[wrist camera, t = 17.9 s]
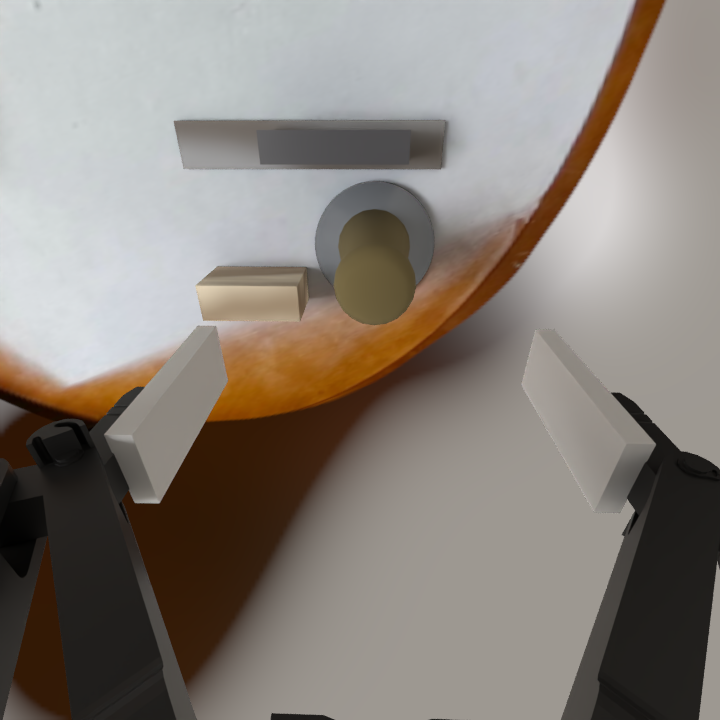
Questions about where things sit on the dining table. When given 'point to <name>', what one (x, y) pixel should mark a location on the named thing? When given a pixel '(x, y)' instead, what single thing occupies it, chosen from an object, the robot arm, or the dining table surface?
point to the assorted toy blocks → (240, 151)
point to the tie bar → (334, 147)
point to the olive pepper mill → (374, 268)
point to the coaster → (381, 199)
